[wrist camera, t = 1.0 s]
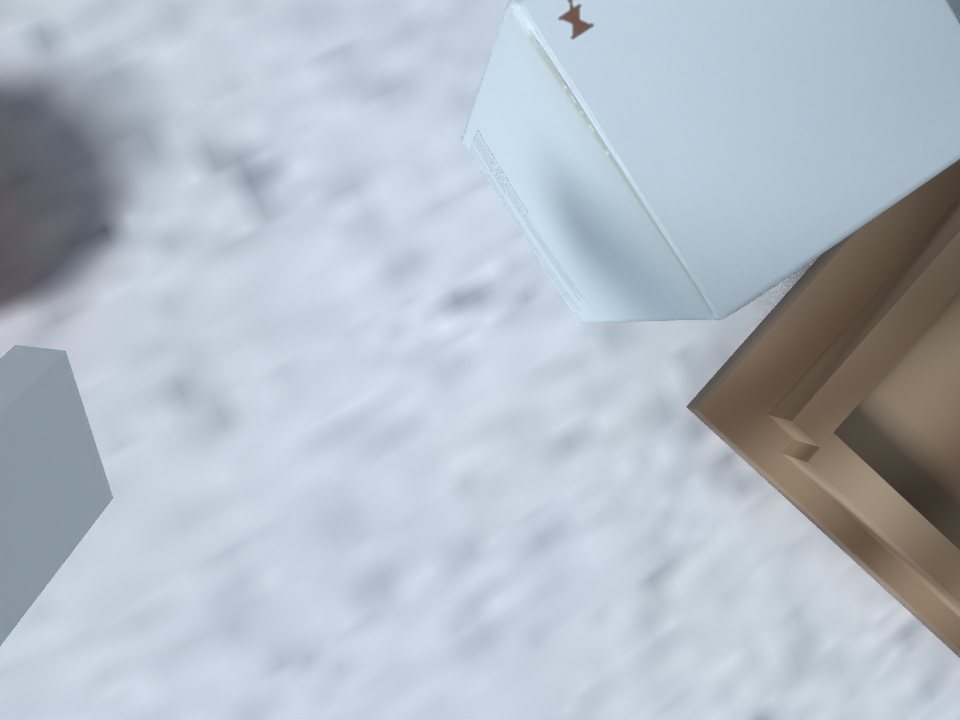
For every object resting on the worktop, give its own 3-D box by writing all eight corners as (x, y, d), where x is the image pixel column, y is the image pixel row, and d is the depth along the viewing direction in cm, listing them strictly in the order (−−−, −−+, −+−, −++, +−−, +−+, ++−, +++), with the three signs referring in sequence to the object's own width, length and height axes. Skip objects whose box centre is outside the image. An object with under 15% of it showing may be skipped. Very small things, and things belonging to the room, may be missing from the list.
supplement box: (578, 330, 29) (711, 336, 16) (455, 136, 28) (494, -11, 16) (764, 208, 29) (1031, 122, 17) (646, 14, 29) (831, -225, 16)
